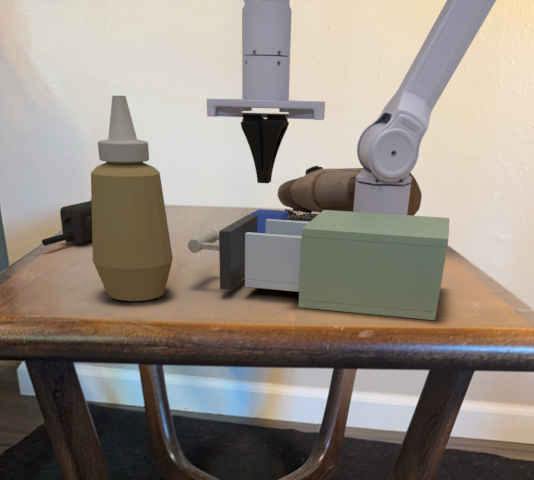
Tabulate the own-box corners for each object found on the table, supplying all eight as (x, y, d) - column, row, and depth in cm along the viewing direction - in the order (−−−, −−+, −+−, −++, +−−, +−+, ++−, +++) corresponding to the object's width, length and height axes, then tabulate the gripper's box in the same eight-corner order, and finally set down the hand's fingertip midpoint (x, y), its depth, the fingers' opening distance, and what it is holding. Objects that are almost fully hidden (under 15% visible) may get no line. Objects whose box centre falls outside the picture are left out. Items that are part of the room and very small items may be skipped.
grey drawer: (181, 285, 66) (179, 227, 63) (213, 264, 75) (212, 212, 72) (338, 300, 63) (343, 239, 60) (352, 275, 71) (357, 221, 68)
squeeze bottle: (80, 298, 64) (52, 94, 55) (130, 281, 71) (112, 94, 61) (143, 310, 61) (126, 96, 52) (189, 291, 67) (181, 97, 58)
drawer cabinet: (298, 307, 63) (302, 228, 59) (318, 279, 73) (323, 209, 69) (435, 320, 61) (448, 238, 57) (437, 289, 70) (449, 217, 66)
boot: (426, 177, 109) (340, 184, 119) (363, 145, 91) (268, 156, 100) (420, 228, 111) (336, 230, 121) (358, 206, 93) (265, 211, 102)
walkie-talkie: (98, 197, 91) (29, 212, 79) (118, 200, 90) (51, 215, 78) (101, 232, 94) (35, 252, 82) (121, 235, 93) (57, 255, 81)
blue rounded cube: (257, 241, 91) (258, 209, 88) (287, 243, 90) (288, 210, 88) (249, 247, 87) (249, 213, 85) (280, 249, 86) (281, 215, 84)
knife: (323, 228, 98) (312, 225, 98) (322, 232, 99) (310, 230, 98) (294, 210, 110) (283, 208, 109) (293, 214, 110) (282, 212, 110)
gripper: (331, 59, 76) (323, 181, 83) (216, 57, 79) (219, 176, 86) (323, 56, 70) (315, 187, 78) (199, 54, 73) (203, 182, 80)
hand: (264, 182), depth 81 cm, fingers closed
